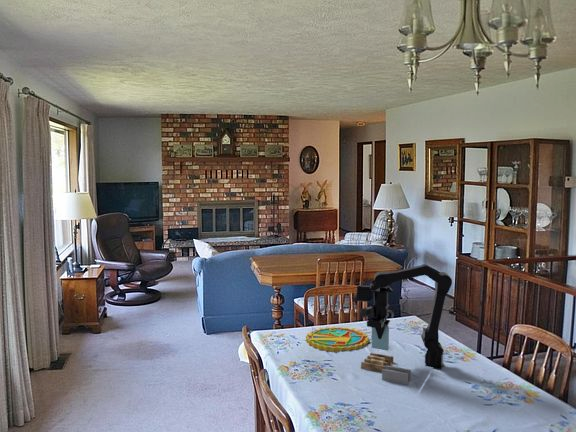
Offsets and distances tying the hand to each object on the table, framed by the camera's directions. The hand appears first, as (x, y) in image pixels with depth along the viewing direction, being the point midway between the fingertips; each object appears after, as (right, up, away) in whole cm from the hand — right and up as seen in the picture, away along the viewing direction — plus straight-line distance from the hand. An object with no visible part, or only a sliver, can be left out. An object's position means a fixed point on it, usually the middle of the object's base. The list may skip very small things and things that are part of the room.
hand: (380, 338), depth 214 cm
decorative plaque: (-15, -9, +29) cm, 34 cm away
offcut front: (-2, -11, -2) cm, 11 cm away
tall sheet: (0, -5, +1) cm, 5 cm away
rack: (-1, -11, -2) cm, 11 cm away
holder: (+3, -13, -17) cm, 21 cm away
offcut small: (-3, -11, -6) cm, 13 cm away
